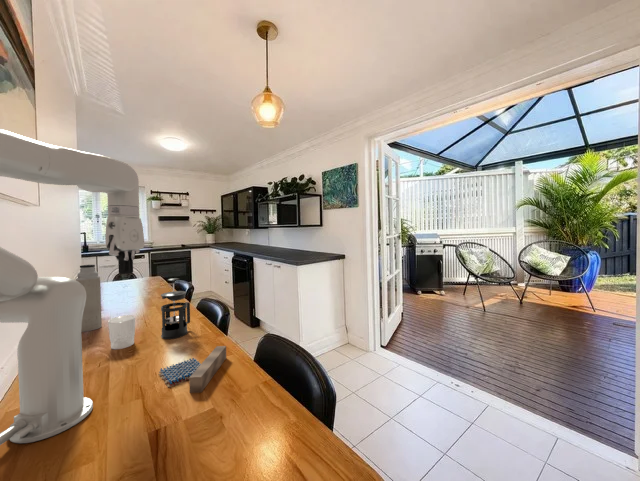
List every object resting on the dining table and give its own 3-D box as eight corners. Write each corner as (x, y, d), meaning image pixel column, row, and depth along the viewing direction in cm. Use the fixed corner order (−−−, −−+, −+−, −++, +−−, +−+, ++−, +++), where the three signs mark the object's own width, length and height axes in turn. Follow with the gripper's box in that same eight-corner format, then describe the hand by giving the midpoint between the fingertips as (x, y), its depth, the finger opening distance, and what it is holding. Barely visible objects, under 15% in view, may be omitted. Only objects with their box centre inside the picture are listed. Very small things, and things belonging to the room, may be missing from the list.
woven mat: (194, 362, 81) (194, 355, 81) (208, 374, 74) (208, 367, 74) (157, 375, 74) (157, 368, 74) (168, 390, 66) (168, 383, 66)
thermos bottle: (98, 323, 116) (96, 263, 115) (104, 327, 112) (102, 264, 111) (74, 329, 109) (72, 265, 109) (80, 333, 105) (78, 266, 104)
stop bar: (201, 392, 65) (201, 377, 65) (189, 392, 65) (189, 377, 65) (226, 358, 83) (226, 345, 83) (217, 358, 83) (216, 346, 83)
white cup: (121, 351, 88) (120, 323, 88) (103, 349, 90) (102, 321, 90) (141, 341, 96) (140, 315, 96) (124, 340, 98) (123, 314, 97)
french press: (168, 341, 96) (167, 281, 95) (154, 337, 100) (152, 279, 100) (196, 331, 106) (195, 276, 106) (182, 327, 111) (180, 275, 110)
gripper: (117, 210, 69) (119, 277, 69) (152, 214, 84) (154, 269, 84) (89, 210, 69) (91, 277, 69) (129, 214, 83) (131, 270, 84)
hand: (126, 273), depth 77 cm, fingers closed
